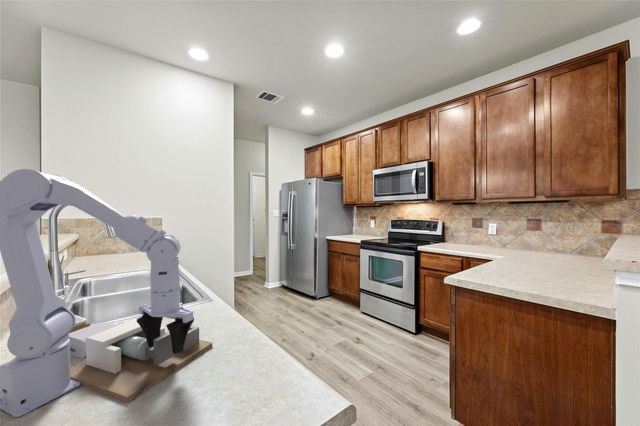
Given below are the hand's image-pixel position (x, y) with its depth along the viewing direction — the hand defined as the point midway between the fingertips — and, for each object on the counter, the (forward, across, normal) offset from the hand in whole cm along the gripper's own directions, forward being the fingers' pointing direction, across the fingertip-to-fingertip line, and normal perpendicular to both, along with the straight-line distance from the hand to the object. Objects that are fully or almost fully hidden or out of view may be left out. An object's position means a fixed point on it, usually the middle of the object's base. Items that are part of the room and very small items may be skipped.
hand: (165, 348), depth 60 cm
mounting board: (+5, +9, -1) cm, 10 cm away
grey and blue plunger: (+4, +8, 0) cm, 9 cm away
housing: (+4, +9, -2) cm, 11 cm away
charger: (+5, +28, -4) cm, 29 cm away
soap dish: (+5, +43, -1) cm, 43 cm away
